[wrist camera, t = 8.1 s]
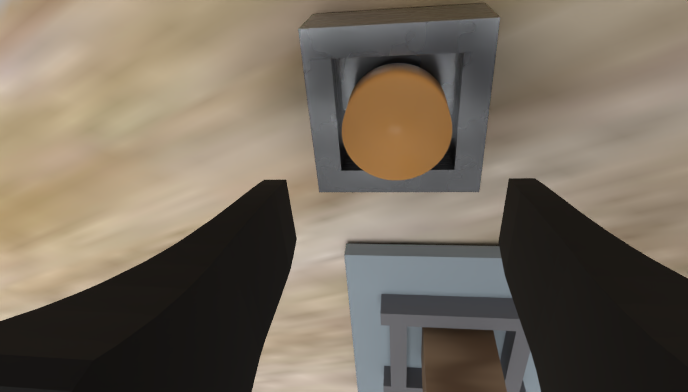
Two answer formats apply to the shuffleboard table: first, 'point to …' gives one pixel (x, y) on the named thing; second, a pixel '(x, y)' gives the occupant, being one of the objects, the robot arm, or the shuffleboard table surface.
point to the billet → (460, 361)
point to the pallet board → (429, 310)
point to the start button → (397, 122)
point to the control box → (411, 48)
